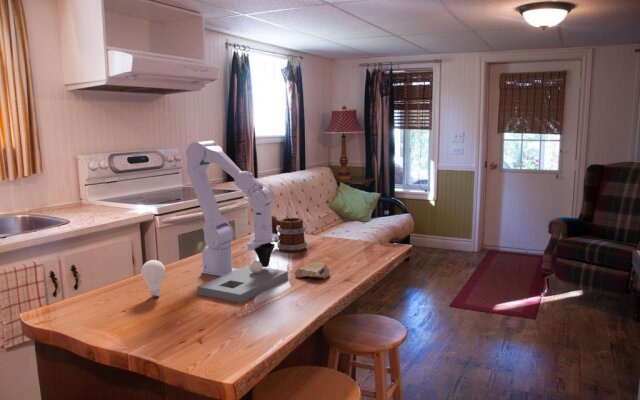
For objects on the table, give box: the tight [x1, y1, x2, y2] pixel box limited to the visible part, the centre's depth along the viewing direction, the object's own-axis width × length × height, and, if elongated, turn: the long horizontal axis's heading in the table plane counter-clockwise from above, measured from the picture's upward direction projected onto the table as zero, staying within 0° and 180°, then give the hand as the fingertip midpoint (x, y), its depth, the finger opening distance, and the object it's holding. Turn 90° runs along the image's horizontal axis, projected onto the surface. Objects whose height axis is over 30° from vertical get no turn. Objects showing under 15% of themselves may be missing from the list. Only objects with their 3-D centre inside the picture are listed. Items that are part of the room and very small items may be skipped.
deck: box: [196, 264, 289, 304], centre depth 156 cm, size 16×24×2 cm, turn 150°
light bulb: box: [140, 259, 166, 298], centre depth 148 cm, size 7×7×11 cm
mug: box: [272, 215, 308, 254], centre depth 198 cm, size 12×14×15 cm
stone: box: [294, 261, 331, 280], centre depth 164 cm, size 8×10×4 cm
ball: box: [249, 260, 262, 273], centre depth 160 cm, size 4×4×4 cm
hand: (264, 266), depth 165 cm, fingers closed
